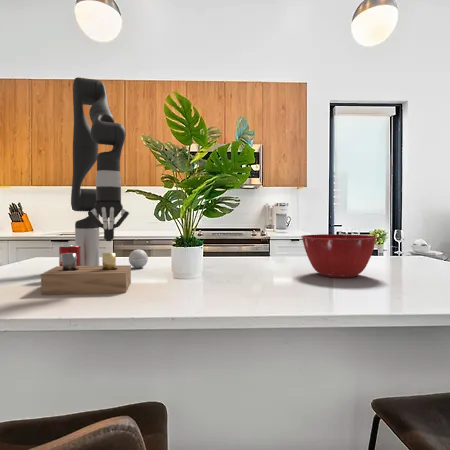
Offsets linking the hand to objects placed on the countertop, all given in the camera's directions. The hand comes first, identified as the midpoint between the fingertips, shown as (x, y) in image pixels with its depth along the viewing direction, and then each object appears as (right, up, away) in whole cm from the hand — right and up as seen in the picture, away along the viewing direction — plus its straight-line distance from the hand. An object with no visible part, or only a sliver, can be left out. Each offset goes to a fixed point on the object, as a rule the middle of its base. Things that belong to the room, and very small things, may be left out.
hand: (108, 241), depth 123 cm
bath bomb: (0, -14, +44) cm, 46 cm away
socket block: (-6, -15, 0) cm, 16 cm away
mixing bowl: (+81, -15, +29) cm, 87 cm away
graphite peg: (-12, -10, -1) cm, 16 cm away
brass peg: (0, -10, 0) cm, 10 cm away
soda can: (-19, -15, +16) cm, 28 cm away
